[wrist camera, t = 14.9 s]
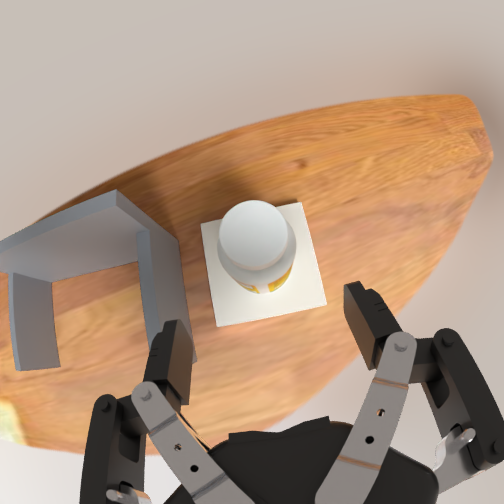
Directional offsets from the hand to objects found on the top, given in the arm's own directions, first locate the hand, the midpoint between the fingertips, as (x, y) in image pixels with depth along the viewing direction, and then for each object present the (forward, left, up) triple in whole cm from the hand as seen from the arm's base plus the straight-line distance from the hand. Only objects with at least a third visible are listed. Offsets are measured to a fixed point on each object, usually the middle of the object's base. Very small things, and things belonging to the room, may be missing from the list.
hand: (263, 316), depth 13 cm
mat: (0, +5, -12) cm, 13 cm away
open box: (-18, +3, -12) cm, 22 cm away
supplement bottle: (0, +5, -11) cm, 12 cm away
